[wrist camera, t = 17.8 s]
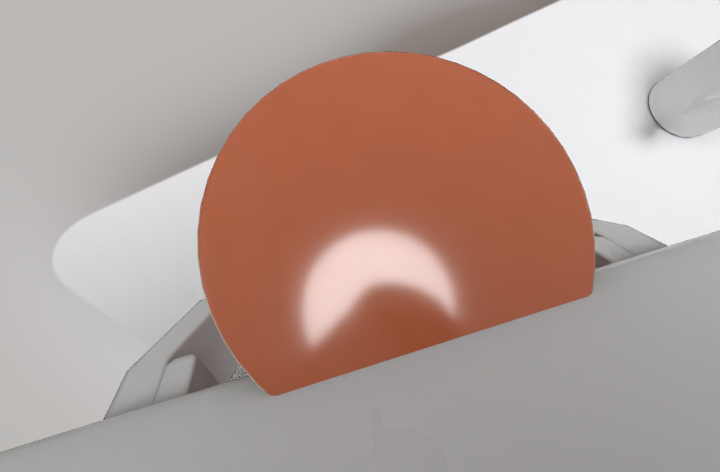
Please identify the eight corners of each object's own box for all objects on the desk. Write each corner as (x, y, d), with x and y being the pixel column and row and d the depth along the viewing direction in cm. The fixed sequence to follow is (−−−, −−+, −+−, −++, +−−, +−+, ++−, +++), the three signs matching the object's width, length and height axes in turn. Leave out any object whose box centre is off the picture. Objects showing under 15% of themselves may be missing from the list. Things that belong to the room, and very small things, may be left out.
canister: (377, 357, 14) (479, 561, 4) (276, 285, 15) (94, 275, 4) (441, 254, 16) (659, 177, 5) (346, 190, 16) (351, -14, 5)
